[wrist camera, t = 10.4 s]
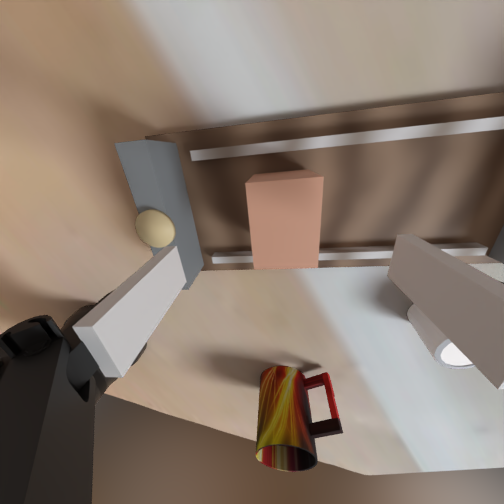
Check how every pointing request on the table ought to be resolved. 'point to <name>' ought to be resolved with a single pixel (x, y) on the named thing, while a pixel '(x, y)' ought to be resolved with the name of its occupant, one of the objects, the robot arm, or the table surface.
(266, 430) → the mug
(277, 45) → the table surface
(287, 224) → the salmon pink box
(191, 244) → the knobbed grey end panels
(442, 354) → the white cup
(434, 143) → the rail track
